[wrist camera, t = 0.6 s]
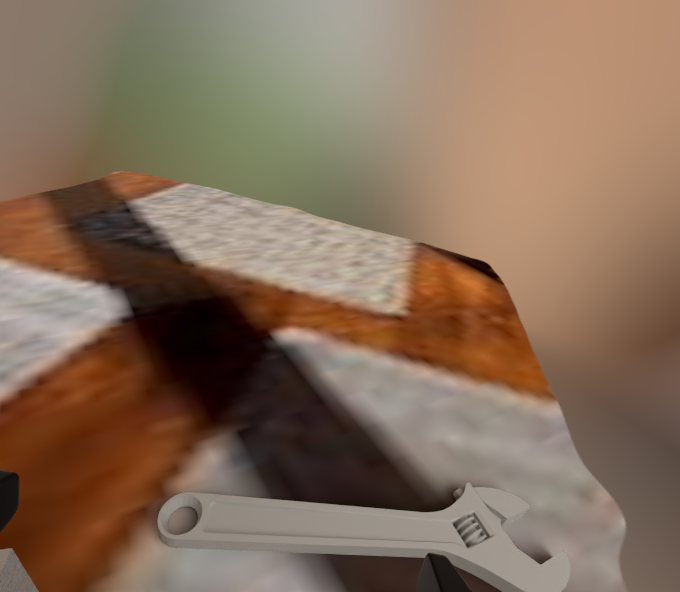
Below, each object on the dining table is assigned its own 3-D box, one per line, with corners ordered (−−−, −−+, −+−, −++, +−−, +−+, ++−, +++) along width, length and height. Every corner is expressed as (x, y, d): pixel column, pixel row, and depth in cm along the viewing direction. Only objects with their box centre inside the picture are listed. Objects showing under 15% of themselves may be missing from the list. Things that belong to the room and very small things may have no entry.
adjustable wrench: (149, 552, 20) (146, 537, 19) (194, 451, 26) (194, 436, 25) (570, 612, 21) (586, 600, 20) (527, 504, 27) (538, 491, 26)
